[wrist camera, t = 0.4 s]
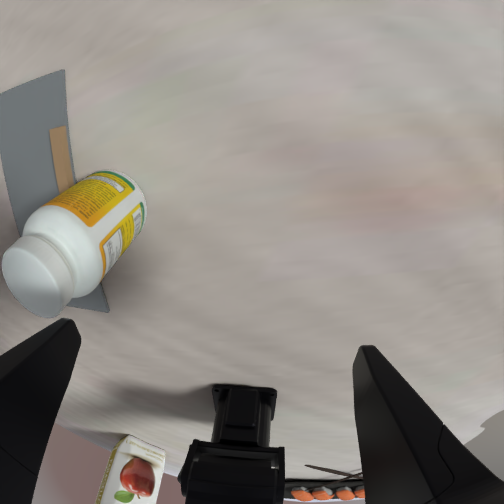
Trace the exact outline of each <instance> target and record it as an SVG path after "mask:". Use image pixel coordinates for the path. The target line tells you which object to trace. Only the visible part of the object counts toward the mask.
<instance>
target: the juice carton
mask: <svg viewBox="0 0 504 504" xmlns="http://www.w3.org/2000/svg"><path fill="white" fill-rule="evenodd" d="M164 465H165V451H164V450H163V449H160V448H158V447H155V446H153V445H151V444H148V443H146V442H144V441H142V440H140V439H138V438H136V437H133V436H131V435H128V436H126V437H125V438H123V439H121V440H120V441H119V442H118V443H117V444H116V446H115V447H114V448H113V450H112V452H111V455H110V458H109V461H108V464H107V467H106V470H105V473H104V476H103V479H102V482H101V485H100V489H99V492H98V495H97V499H96V502H95V504H156V500H157V496H158V492H159V488H160V483H161V479H162V475H163V471H164Z"/></svg>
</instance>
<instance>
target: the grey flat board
mask: <svg viewBox="0 0 504 504" xmlns="http://www.w3.org/2000/svg"><path fill="white" fill-rule="evenodd" d="M0 154H1V160H2V166H3V171H4V176H5V181H6V185H7V190H8V194H9V198H10V202H11V206H12V210H13V214H14V217H15V221H16V224H17V228H18V231H19V234H20V237H22V234H23V229H24V226H25V224H26V222H27V220H28V218H29V217H30V216H31V215H32V214H33V213H34V212H35V211H36V210H37V209H39V208H40V207H41V206H43V205H44V204H46V203H48V202H49V201H50V200H52V199H54V198H55V197H57V196H58V195H59V194H61V193H63V192H64V191H66V190H67V189H69V188H70V187H72V186H73V185H75V184H76V179H75V173H74V166H73V160H72V153H71V145H70V137H69V128H68V118H67V106H66V90H65V70H60V71H57V72H54V73H51V74H48V75H45V76H42V77H40V78H37V79H34V80H32V81H29V82H26V83H24V84H21V85H19V86H17V87H14V88H12V89H10V90H7V91H5V92H3V93H1V94H0ZM66 306H71V307H77V308H82V309H88V310H94V311H101V312H107V313H108V312H109V311H110V310H109V307H108V304H107V301H106V298H105V295H104V292H103V289H102V286H101V283H99V284H98V286H97V287H96V288H95V289H94V290H93V291H92V292H90V293H89V294H87V295H85V296H83V297H78V298H71V300H70V302H69V303H68V304H67V305H66Z"/></svg>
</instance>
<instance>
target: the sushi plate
mask: <svg viewBox="0 0 504 504" xmlns="http://www.w3.org/2000/svg"><path fill="white" fill-rule="evenodd" d="M304 466H307V467H310V468H314V469H318V470H321V471H325V472H330V473H334V474H338V475H343V476H348V477H346V478H343V479H340V480H337V481H334V482H285V490H284V498H289V499H298V500H300V501H311V500H313V499H318V500H328V499H341V500H351V499H353V498H357V497H358V498H365V492H364V482H363V481H350V482H340V481H343V480H346V479H349V478H352V477H353V478H358V479H363V477H359V476H358V475H361V474H363V473H362V472H361V473H358V474H355V475H350V474H346V473H343V472H339V471H335V470H332V469H327V468H322V467H316V466H311V465H304Z"/></svg>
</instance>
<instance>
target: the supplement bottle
mask: <svg viewBox="0 0 504 504" xmlns="http://www.w3.org/2000/svg"><path fill="white" fill-rule="evenodd" d="M146 216H147V206H146V201H145V198H144V195H143V193H142V191H141V189H140V188H139V186H138V185H137V184H136V183H135V181H134V180H132V179H131V178H130V177H128V176H127V175H125V174H123V173H121V172H119V171H116V170H101V171H98V172H95V173H93V174H92V175H90V176H88V177H86V178H85V179H83V180H81V181H80V182H78V183H77V184H75V185H73V186H72V187H70V188H69V189H67V190H66V191H64V192H63V193H61V194H59V195H58V196H57V197H55V198H54V199H52V200H50V201H49V202H48V203H46V204H44V205H43V206H41V207H40V208H39V209H37V210H36V211H35V212H34V213H33V214H32V215H31V216H30V217H29V218H28V220H27V222H26V224H25V226H24V229H23V234H22V237H21V238H19V239H18V240H17V241H16V242H15V243H14V244H13V245H12V246H11V247H9V248H8V249H7V250H6V252H5V253H4V255H3V258H2V272H3V276H4V279H5V281H6V284H7V286H8V288H9V289H10V291H11V292H12V294H13V295H14V297H15V298H16V299H17V300H18V301H19V302H20V303H21V304H22V305H23V306H24V307H25V308H26V309H28V310H29V311H30V312H32V313H33V314H35V315H38V316H40V317H44V318H53V317H56V316H57V315H58V314H59V313H60V312H61V311H62V310H63V308H64V307H65V306H66V305H67V304H68V303H69V302H70V300H71V298H78V297H83V296H85V295H87V294H89V293H90V292H92V291H93V290H94V289H95V288H96V287H97V286H98V284H99V283H100V282H101V281H102V279H103V278H104V277H105V275H106V274H107V273H108V271H109V270H110V269H111V268H112V266H113V265H114V264H115V263H116V261H117V260H118V259H119V257H120V256H121V255H122V254H123V252H124V251H125V250H126V249H127V248H128V246H129V245H130V244H131V243H132V241H133V240H134V239H135V238H136V237H137V235H138V234H139V233H140V231H141V230H142V228H143V226H144V224H145V221H146Z"/></svg>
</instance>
